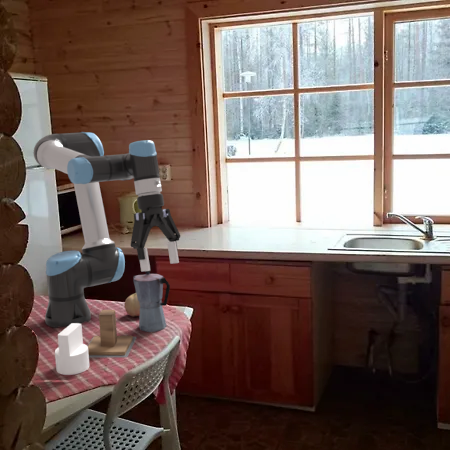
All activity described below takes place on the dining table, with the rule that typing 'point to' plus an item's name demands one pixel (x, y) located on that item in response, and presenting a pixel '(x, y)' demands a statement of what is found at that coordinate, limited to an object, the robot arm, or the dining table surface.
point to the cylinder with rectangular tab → (71, 351)
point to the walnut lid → (109, 337)
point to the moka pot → (151, 301)
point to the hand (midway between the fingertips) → (160, 267)
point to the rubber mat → (115, 355)
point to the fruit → (132, 305)
